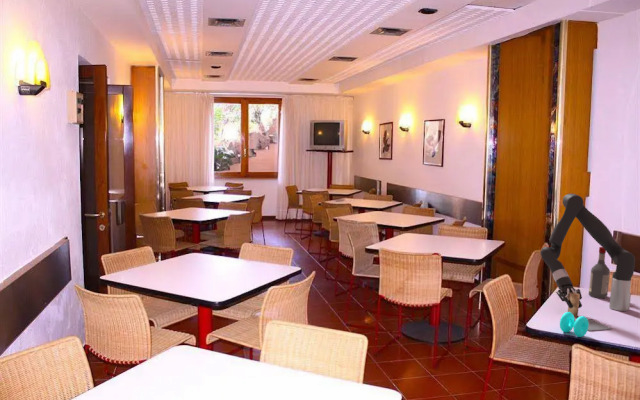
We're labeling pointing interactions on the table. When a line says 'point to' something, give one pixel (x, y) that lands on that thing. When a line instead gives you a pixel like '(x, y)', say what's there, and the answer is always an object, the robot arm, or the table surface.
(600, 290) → the liquor
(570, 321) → the turquoise spool
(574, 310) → the oak roller
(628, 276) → the robot arm
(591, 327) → the slate pad
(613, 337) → the table surface
